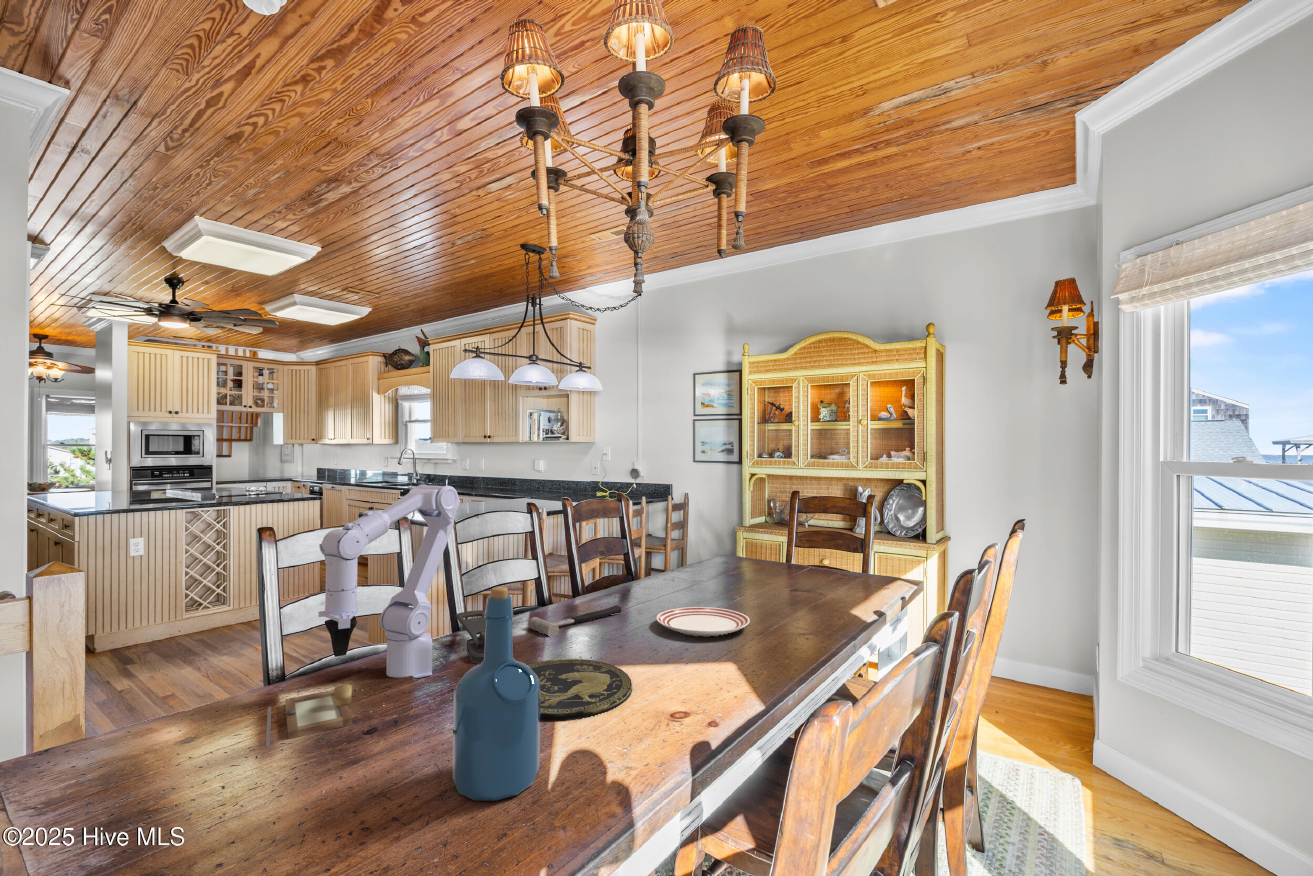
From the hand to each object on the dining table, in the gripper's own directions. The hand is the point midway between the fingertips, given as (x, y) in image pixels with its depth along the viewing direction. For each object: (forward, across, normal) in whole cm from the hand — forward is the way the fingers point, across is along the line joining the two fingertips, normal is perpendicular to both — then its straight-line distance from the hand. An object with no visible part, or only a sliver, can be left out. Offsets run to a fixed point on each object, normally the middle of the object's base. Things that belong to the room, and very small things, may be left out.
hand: (340, 655), depth 120 cm
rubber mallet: (+10, -24, +66) cm, 71 cm away
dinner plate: (+10, -1, +95) cm, 95 cm away
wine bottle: (+10, +45, +18) cm, 50 cm away
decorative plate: (+10, +18, +41) cm, 46 cm away
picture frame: (+9, +7, -4) cm, 12 cm away
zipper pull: (+10, -18, +34) cm, 39 cm away
